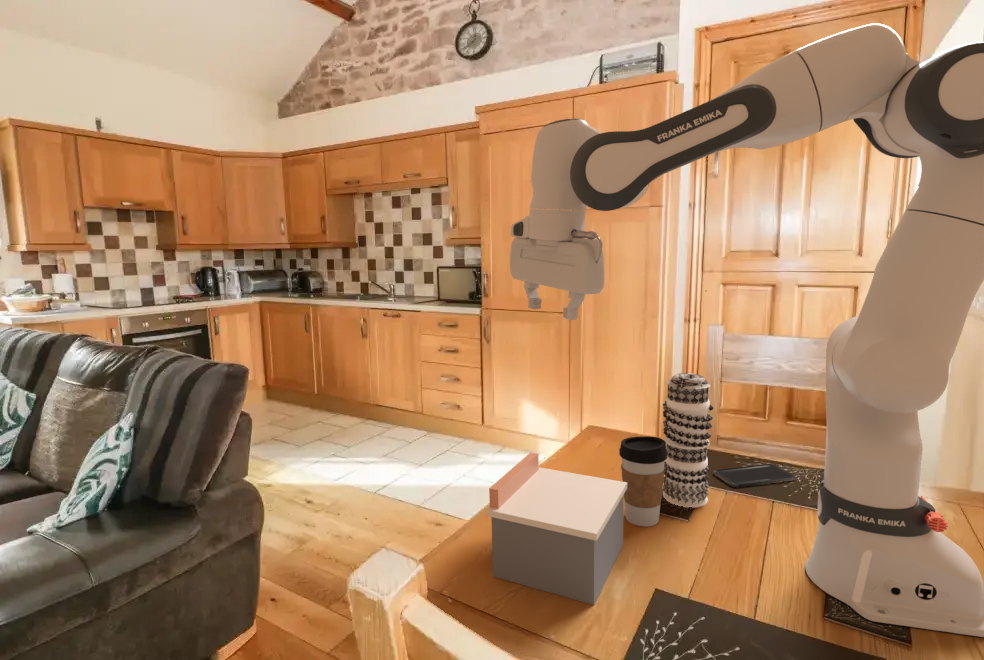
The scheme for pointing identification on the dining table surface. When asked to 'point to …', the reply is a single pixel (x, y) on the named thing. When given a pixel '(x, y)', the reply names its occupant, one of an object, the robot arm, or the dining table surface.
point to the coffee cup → (643, 478)
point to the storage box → (557, 557)
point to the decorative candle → (687, 440)
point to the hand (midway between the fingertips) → (551, 313)
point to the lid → (555, 499)
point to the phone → (753, 475)
